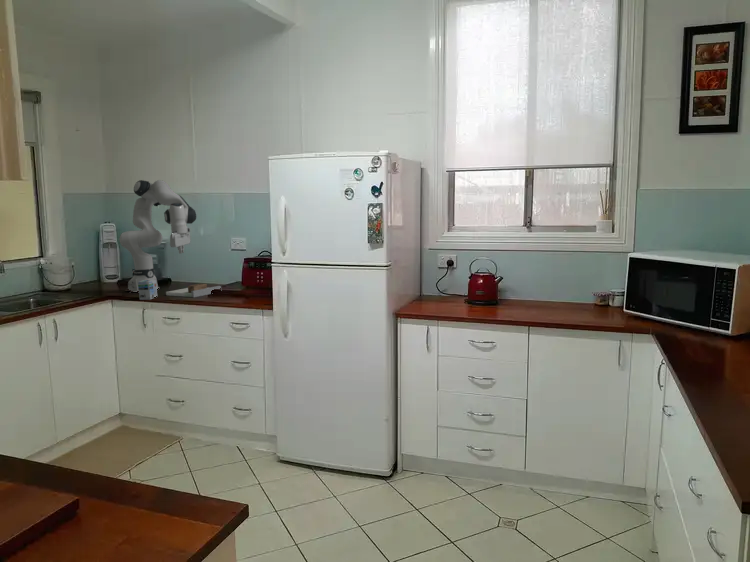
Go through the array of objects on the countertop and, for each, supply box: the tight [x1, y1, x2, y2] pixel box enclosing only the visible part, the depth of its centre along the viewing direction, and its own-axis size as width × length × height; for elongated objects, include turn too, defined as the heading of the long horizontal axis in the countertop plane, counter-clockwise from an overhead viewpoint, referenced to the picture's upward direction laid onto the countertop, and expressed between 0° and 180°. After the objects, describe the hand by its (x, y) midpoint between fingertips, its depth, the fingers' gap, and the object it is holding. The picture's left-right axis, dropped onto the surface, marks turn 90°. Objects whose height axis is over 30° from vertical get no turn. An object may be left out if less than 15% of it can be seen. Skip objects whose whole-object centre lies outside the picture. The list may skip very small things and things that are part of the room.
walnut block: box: [187, 283, 208, 293], centre depth 342 cm, size 5×10×4 cm, turn 151°
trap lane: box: [165, 285, 222, 298], centre depth 349 cm, size 25×21×4 cm
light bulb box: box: [138, 278, 158, 301], centre depth 338 cm, size 11×7×11 cm, turn 179°
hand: (181, 253), depth 348 cm, fingers closed
